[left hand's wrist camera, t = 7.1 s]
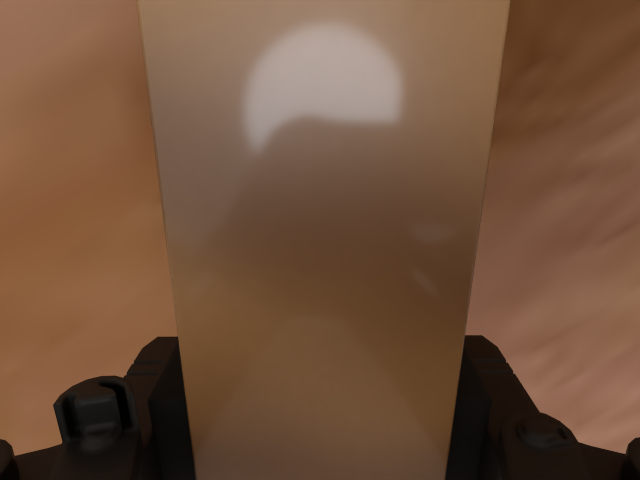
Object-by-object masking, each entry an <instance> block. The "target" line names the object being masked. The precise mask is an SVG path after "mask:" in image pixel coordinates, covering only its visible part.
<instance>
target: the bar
mask: <svg viewBox="0 0 640 480" xmlns="http://www.w3.org/2000/svg"><path fill="white" fill-rule="evenodd" d="M510 2H511V0H136V3H137V11H138V19H139V27H140V35H141V43H142V51H143V59H144V67H145V75H146V83H147V91H148V100H149V108H150V116H151V124H152V132H153V140H154V148H155V156H156V164H157V172H158V180H159V188H160V196H161V204H162V212H163V220H164V228H165V236H166V244H167V252H168V260H169V268H170V276H171V284H172V292H173V300H174V308H175V316H176V324H177V332H178V341H179V349H180V357H181V365H182V373H183V381H184V389H185V397H186V405H187V413H188V421H189V429H190V437H191V445H192V453H193V461H194V469H195V477H196V480H445V477H446V470H447V463H448V455H449V448H450V441H451V433H452V426H453V419H454V411H455V404H456V397H457V389H458V382H459V375H460V367H461V360H462V353H463V346H464V338H465V331H466V324H467V316H468V309H469V302H470V294H471V287H472V280H473V272H474V265H475V258H476V250H477V243H478V236H479V228H480V221H481V214H482V207H483V199H484V192H485V185H486V177H487V170H488V163H489V155H490V148H491V141H492V133H493V126H494V119H495V111H496V104H497V97H498V89H499V82H500V75H501V68H502V60H503V53H504V46H505V38H506V31H507V24H508V16H509V9H510Z"/></svg>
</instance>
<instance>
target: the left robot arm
mask: <svg viewBox="0 0 640 480" xmlns="http://www.w3.org/2000/svg"><path fill="white" fill-rule="evenodd" d="M53 407H54V410H55V414H56V418H57V422H58V426H59V430H60V434H61V438H62V441H63V442H62V444H60V445H57V446H53V447H50V448H47V449H42V450H38V451H34V452H30V453H25V454H21V455H17V456H15V455H14V452H13V449H12V446H11V445H10V444H9V443H8V442H7V441H5V440H1V439H0V480H196V477H195V469H194V461H193V453H192V445H191V437H190V429H189V421H188V413H187V405H186V397H185V389H184V381H183V373H182V365H181V357H180V349H179V341H178V337H157V338H156V339H154V340H153V341H151V342H150V343H149V344H147V345H146V346H145V347H143V348H142V350H141V351H140V353H139V354H138V356H137V358H136V359H135V361H134V364H132V365H131V367H130V368H129V370H128V372H127V375H125V376H124V378H122V377H118V376H100V377H96V378H92V379H88V380H85V381H83V382H80V383H78V384H76V385H74V386H72V387H71V388H69V389H68V390H67V391H65V392H64V393H63V394H61V395H60V396H59V398H58V399H57V400H56V402H55V403H54V404H53ZM445 480H640V437H639V438H635V439H634V440H632V441H631V442H630V443H629V444H628V447H627V450H626V454H622V453H618V452H614V451H610V450H605V449H601V448H597V447H593V446H589V445H586V444H583V443H579V442H578V441H577V439H576V438H575V436H574V435H573V433H572V432H571V430H570V429H568V428H567V427H566V426H565V425H564V424H562V423H561V422H560V421H558V420H557V419H555V418H553V417H551V416H549V415H547V414H544V413H540V412H539V410H538V409H537V407H536V406H535V404H534V403H533V401H532V400H531V398H530V397H529V395H528V393H527V392H526V390H525V389H524V387H523V386H522V384H521V383H520V381H519V380H518V378H517V376H516V375H515V374H513V370H512V369H511V367H510V366H509V364H508V363H506V359H505V358H504V356H503V355H502V353H501V352H500V350H499V349H498V347H497V346H496V345H494V344H493V343H491V342H490V341H489V340H487V339H486V338H485V337H483V336H482V335H465V338H464V346H463V353H462V360H461V367H460V375H459V382H458V389H457V397H456V404H455V411H454V419H453V426H452V433H451V441H450V448H449V455H448V463H447V470H446V477H445Z"/></svg>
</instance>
